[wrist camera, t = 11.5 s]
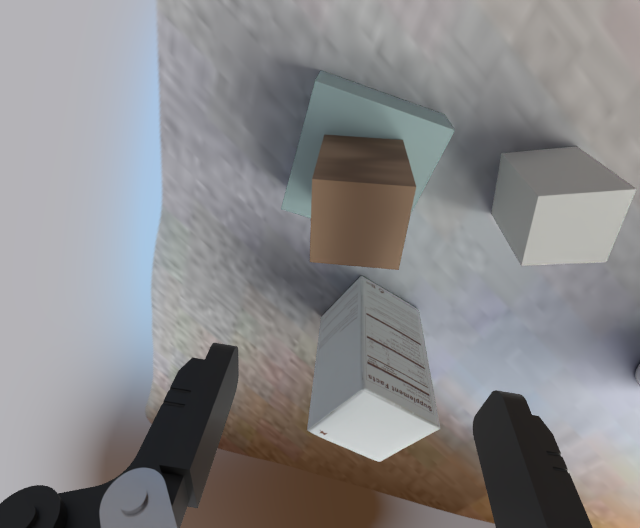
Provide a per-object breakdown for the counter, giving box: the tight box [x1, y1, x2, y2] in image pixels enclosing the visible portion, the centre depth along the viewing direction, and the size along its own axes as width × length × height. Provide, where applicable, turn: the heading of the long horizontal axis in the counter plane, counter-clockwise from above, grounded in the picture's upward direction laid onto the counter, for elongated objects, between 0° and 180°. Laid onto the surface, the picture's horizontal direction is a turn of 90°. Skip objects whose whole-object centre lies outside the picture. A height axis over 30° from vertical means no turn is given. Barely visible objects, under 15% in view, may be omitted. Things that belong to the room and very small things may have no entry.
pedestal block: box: [281, 71, 455, 218], centre depth 26 cm, size 9×9×4 cm
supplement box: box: [307, 276, 440, 462], centre depth 32 cm, size 7×7×13 cm
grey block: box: [491, 146, 637, 266], centre depth 24 cm, size 5×5×7 cm
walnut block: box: [310, 134, 416, 270], centre depth 22 cm, size 5×5×7 cm
